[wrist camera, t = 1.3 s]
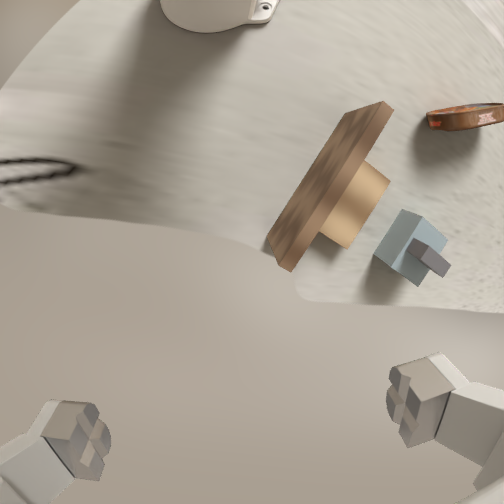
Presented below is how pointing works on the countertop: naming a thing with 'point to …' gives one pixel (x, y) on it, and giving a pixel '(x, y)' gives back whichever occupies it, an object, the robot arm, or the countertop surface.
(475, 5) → the countertop surface
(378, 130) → the brown wooden piece
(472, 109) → the tin
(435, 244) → the blue block with handle
